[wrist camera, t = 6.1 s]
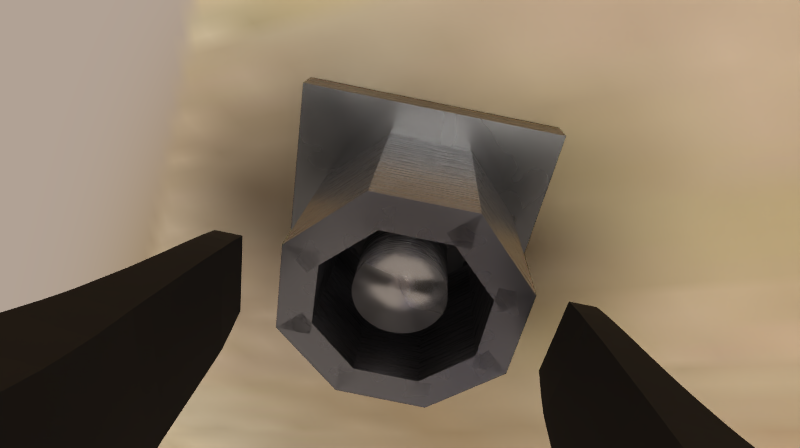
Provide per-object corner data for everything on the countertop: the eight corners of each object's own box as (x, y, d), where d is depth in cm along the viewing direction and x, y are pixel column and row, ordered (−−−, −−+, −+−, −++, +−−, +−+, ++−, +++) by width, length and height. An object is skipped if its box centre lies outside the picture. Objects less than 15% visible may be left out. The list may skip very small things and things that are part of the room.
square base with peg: (491, 323, 16) (506, 428, 12) (292, 283, 16) (244, 375, 12) (558, 128, 13) (608, 185, 9) (311, 77, 13) (254, 113, 9)
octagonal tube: (477, 318, 15) (487, 419, 11) (313, 285, 15) (272, 376, 11) (528, 162, 13) (561, 229, 9) (332, 122, 12) (287, 174, 9)
